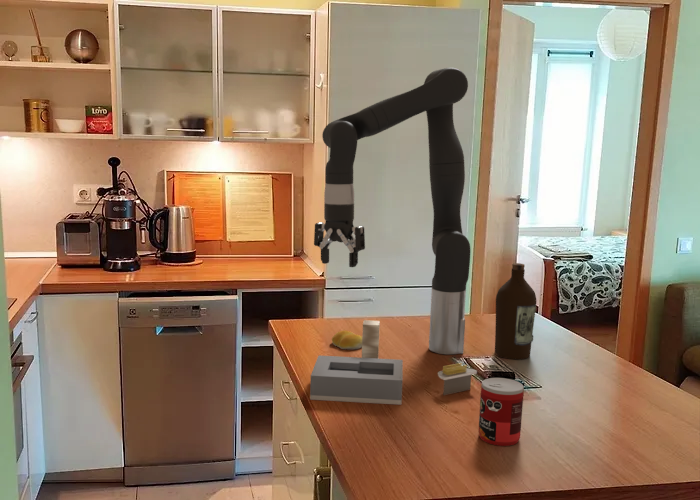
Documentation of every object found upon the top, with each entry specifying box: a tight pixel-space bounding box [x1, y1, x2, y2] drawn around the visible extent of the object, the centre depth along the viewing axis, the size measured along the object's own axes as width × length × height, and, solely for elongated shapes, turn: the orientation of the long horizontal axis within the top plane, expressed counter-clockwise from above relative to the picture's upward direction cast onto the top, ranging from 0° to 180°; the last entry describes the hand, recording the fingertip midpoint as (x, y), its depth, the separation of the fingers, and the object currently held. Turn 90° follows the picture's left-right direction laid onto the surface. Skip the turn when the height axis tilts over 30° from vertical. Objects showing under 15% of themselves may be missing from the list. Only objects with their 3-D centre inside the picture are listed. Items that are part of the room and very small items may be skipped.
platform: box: [437, 362, 478, 396], centre depth 156 cm, size 12×18×7 cm, turn 121°
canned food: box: [478, 377, 525, 447], centre depth 131 cm, size 8×8×11 cm
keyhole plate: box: [309, 355, 404, 406], centre depth 154 cm, size 20×14×6 cm
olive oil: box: [494, 262, 537, 360], centre depth 182 cm, size 11×11×25 cm
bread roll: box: [331, 329, 362, 351], centre depth 188 cm, size 8×9×4 cm
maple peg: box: [361, 319, 381, 359], centre depth 168 cm, size 6×6×12 cm
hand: (338, 265), depth 173 cm, fingers open, 8 cm apart
